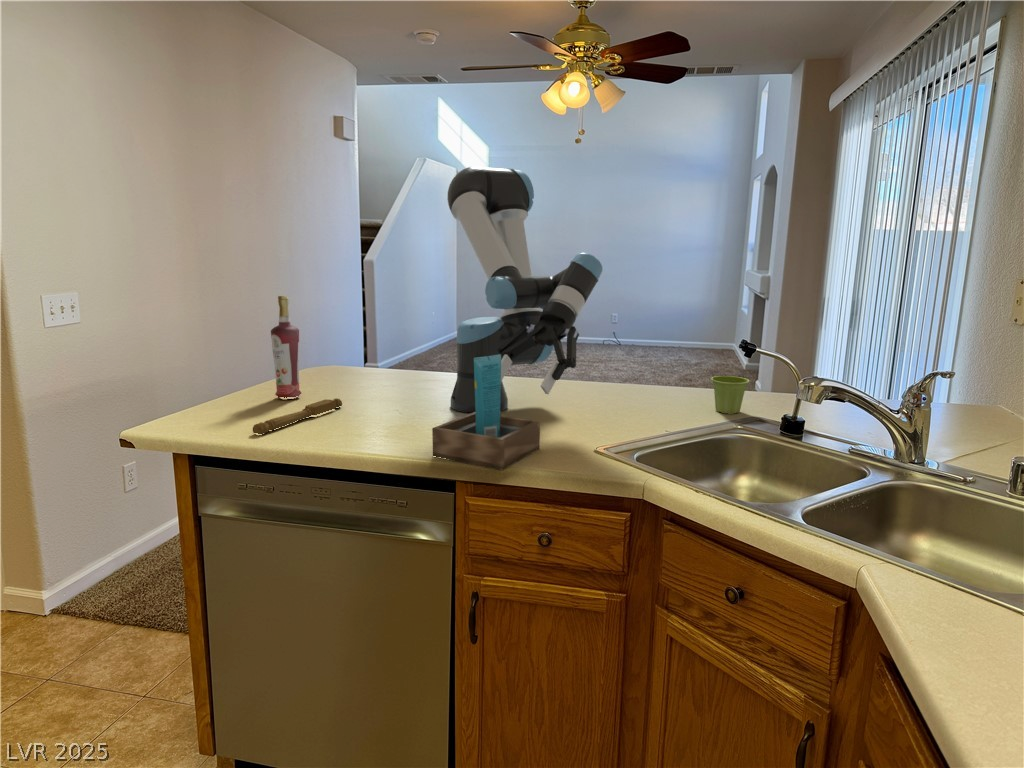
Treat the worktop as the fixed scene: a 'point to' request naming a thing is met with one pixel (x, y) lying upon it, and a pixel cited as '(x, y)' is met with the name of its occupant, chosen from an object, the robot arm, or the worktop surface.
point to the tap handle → (297, 415)
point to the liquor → (286, 353)
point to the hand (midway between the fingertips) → (518, 385)
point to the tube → (487, 394)
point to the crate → (486, 442)
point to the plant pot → (729, 393)
